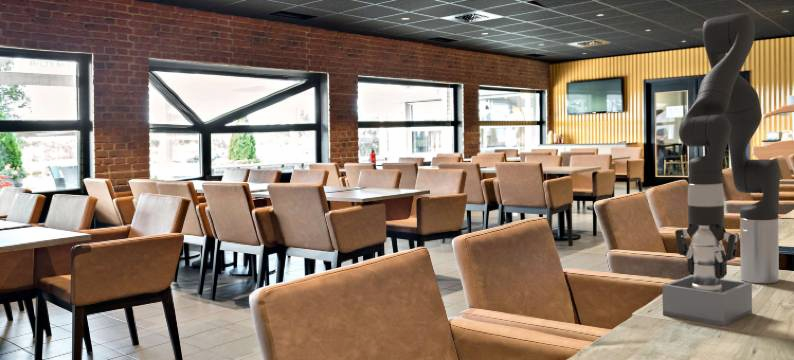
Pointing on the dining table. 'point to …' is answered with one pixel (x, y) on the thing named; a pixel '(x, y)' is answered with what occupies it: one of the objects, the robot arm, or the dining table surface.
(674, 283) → the box
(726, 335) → the dining table surface
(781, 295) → the dining table surface
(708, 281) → the plastic bottle
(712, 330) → the dining table surface
